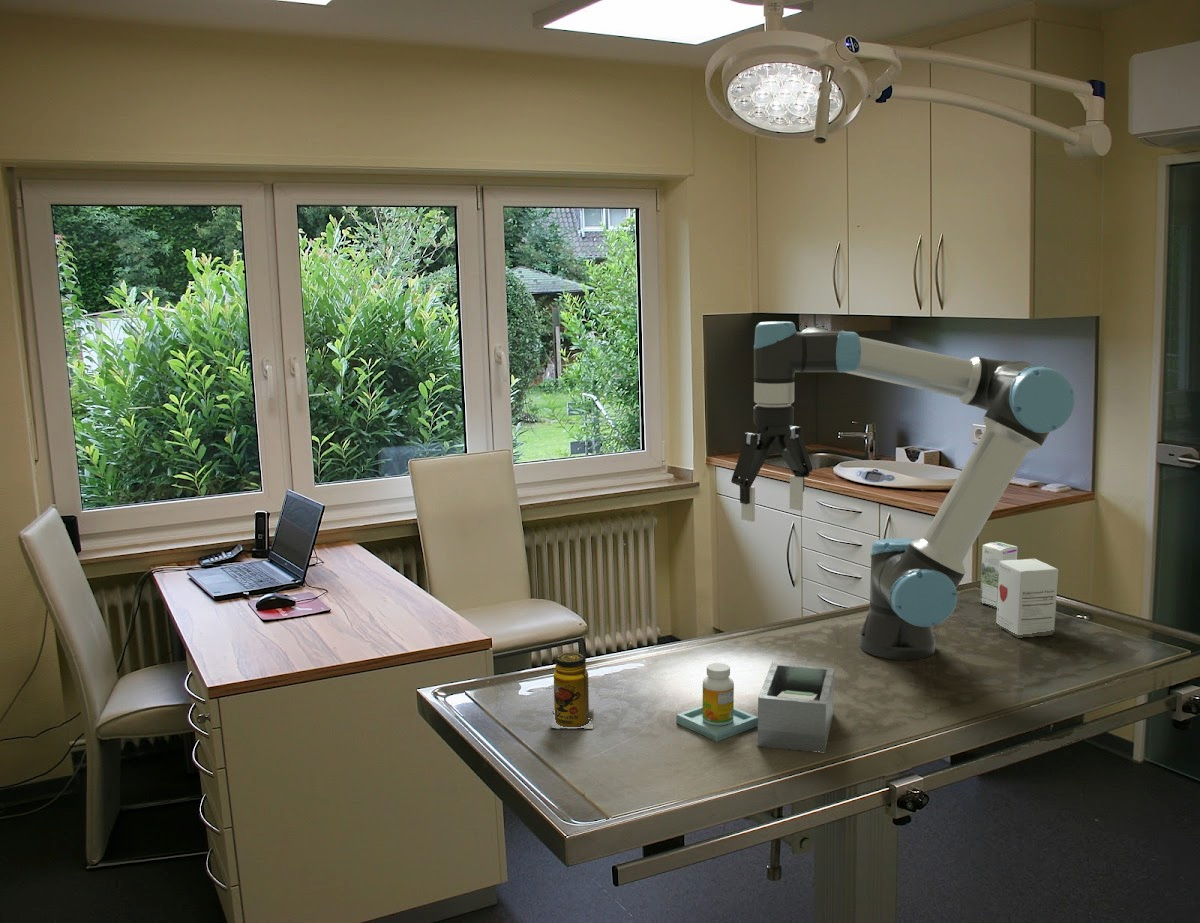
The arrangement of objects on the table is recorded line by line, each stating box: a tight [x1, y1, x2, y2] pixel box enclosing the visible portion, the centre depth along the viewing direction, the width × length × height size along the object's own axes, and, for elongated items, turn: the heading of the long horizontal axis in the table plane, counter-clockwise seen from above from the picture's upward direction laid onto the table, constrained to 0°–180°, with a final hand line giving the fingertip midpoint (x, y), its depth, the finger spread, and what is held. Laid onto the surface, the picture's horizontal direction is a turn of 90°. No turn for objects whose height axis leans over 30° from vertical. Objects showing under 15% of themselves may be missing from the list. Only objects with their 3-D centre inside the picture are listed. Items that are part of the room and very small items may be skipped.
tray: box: [675, 704, 758, 742], centre depth 193 cm, size 10×10×2 cm
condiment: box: [553, 652, 595, 730], centre depth 194 cm, size 7×8×12 cm
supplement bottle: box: [702, 662, 735, 726], centre depth 192 cm, size 5×5×10 cm
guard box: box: [756, 661, 835, 753], centre depth 190 cm, size 17×11×8 cm, turn 164°
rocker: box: [777, 690, 818, 701], centre depth 190 cm, size 10×7×2 cm
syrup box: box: [979, 541, 1019, 607], centre depth 257 cm, size 6×6×14 cm
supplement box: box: [995, 558, 1059, 635], centre depth 239 cm, size 9×9×15 cm
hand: (772, 514), depth 212 cm, fingers open, 13 cm apart
